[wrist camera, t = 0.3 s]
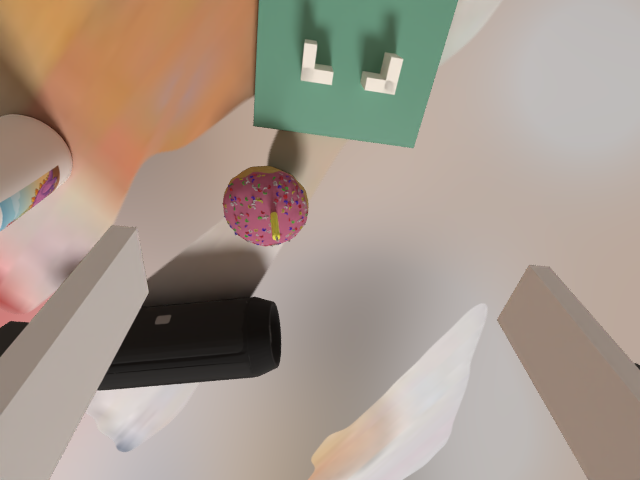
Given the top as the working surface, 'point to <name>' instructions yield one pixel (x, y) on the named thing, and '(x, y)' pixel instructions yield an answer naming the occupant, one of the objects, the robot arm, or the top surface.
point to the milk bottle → (29, 164)
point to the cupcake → (265, 205)
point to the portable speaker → (197, 344)
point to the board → (349, 66)
